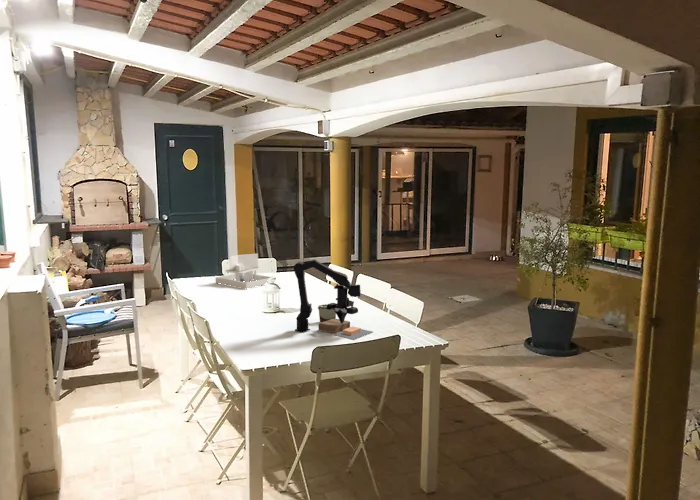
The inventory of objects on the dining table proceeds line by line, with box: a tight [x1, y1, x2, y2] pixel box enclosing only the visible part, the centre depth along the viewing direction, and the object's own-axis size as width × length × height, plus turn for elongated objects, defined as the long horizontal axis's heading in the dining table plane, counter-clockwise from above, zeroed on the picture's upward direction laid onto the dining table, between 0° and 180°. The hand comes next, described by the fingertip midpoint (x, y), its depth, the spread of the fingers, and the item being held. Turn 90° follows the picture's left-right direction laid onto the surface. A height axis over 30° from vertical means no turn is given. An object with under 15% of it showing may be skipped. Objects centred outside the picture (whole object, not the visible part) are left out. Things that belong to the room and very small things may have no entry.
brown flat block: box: [318, 318, 351, 335], centre depth 321 cm, size 14×12×4 cm
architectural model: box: [225, 253, 260, 283], centre depth 447 cm, size 28×21×23 cm
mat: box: [334, 328, 374, 341], centre depth 313 cm, size 18×14×1 cm
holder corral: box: [215, 273, 272, 290], centre depth 448 cm, size 29×36×5 cm
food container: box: [317, 303, 337, 323], centre depth 337 cm, size 12×6×10 cm, turn 72°
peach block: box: [342, 326, 362, 335], centre depth 314 cm, size 9×6×2 cm, turn 143°
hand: (341, 323), depth 317 cm, fingers closed
